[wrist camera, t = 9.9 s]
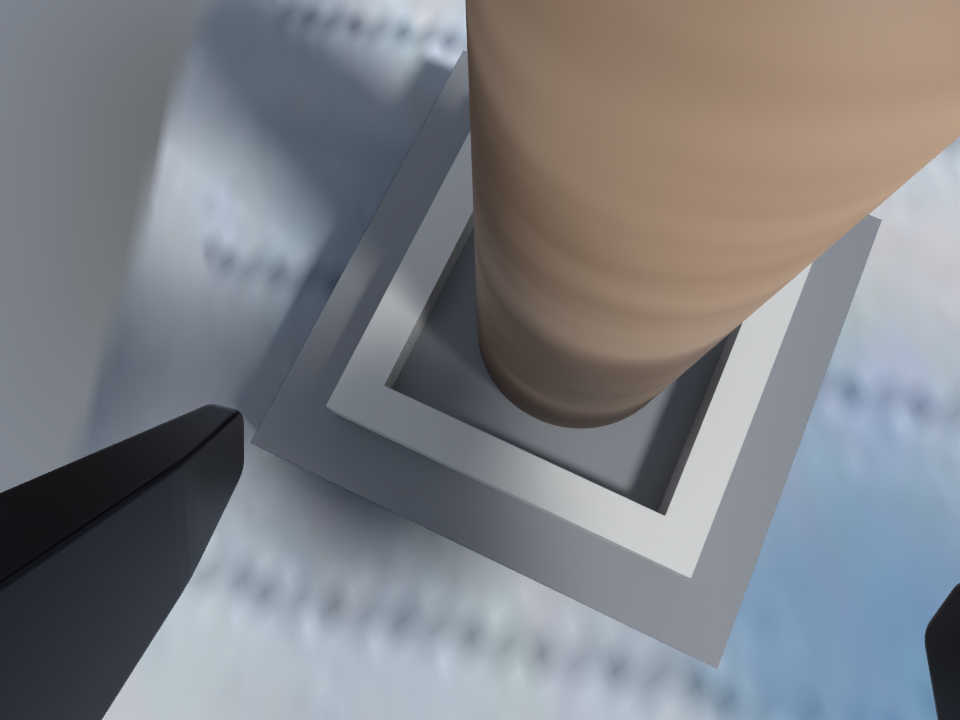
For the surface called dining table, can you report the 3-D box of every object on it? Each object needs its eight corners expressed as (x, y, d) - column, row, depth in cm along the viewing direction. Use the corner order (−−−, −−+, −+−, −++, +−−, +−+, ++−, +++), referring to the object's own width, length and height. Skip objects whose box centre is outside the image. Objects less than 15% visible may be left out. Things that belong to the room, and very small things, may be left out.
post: (698, 411, 18) (1357, 5, 4) (494, 443, 18) (523, 123, 4) (654, 223, 19) (1068, -556, 6) (464, 251, 19) (410, -479, 5)
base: (692, 655, 19) (731, 676, 16) (273, 452, 20) (237, 437, 17) (845, 249, 21) (902, 203, 18) (465, 93, 22) (462, 25, 19)
